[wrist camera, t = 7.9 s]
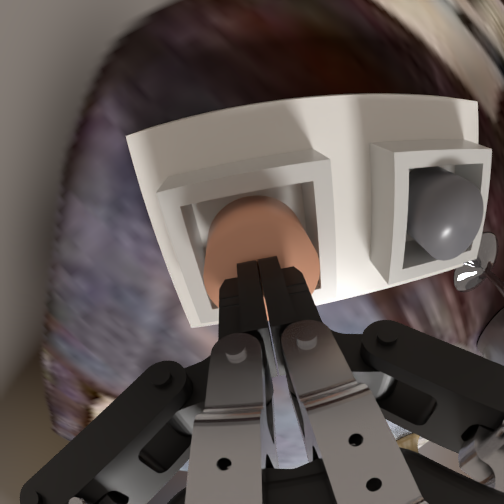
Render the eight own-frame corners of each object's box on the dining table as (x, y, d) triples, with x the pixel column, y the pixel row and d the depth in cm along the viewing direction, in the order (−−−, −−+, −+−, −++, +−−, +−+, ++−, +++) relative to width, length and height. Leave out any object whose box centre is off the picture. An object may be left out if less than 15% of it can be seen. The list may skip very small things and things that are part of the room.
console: (440, 96, 15) (505, 107, 9) (435, 241, 21) (481, 284, 15) (147, 128, 15) (105, 144, 10) (196, 290, 21) (188, 357, 16)
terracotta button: (297, 187, 12) (316, 212, 10) (305, 271, 14) (322, 309, 12) (197, 206, 12) (189, 237, 10) (219, 287, 15) (219, 329, 12)
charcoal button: (453, 161, 13) (487, 177, 11) (447, 228, 15) (475, 251, 13) (394, 166, 13) (427, 183, 11) (392, 240, 15) (419, 268, 13)
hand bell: (385, 453, 49) (403, 507, 35) (386, 444, 45) (406, 504, 31) (417, 438, 48) (437, 491, 34) (421, 427, 44) (445, 486, 30)
